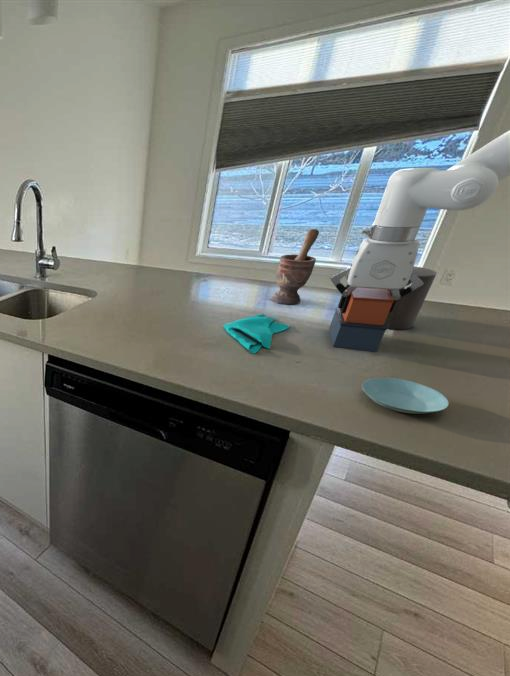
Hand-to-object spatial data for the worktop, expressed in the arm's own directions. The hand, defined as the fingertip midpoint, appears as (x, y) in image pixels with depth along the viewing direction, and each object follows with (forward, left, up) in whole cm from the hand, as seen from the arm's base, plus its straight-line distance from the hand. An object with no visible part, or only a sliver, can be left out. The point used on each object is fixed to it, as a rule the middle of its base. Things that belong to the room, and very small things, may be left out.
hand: (362, 312), depth 95 cm
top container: (0, 0, -1) cm, 1 cm away
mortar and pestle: (+13, -28, -7) cm, 32 cm away
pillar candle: (-9, -15, -7) cm, 19 cm away
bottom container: (0, 0, -7) cm, 7 cm away
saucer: (-4, +29, -7) cm, 30 cm away
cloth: (+21, +2, -7) cm, 23 cm away
